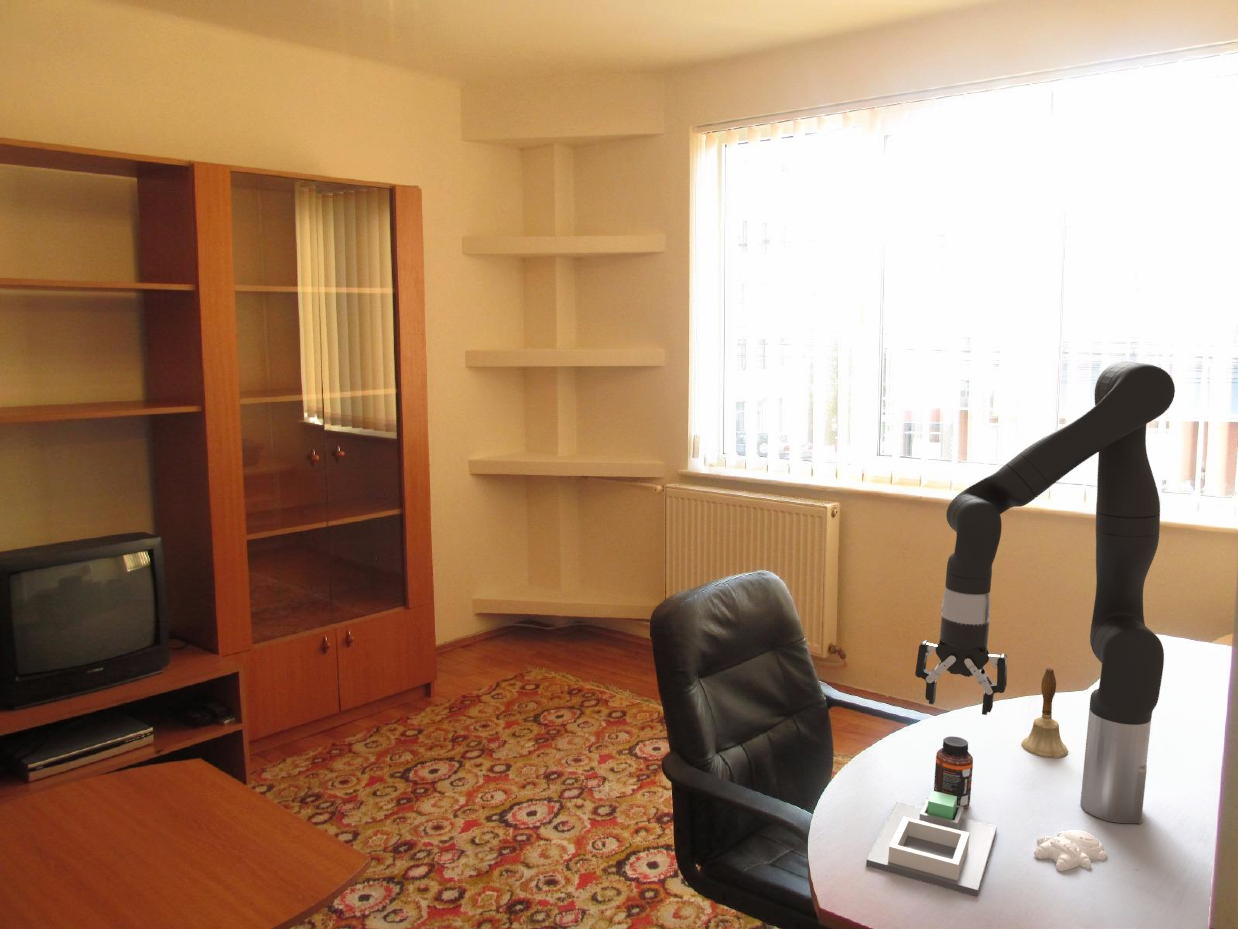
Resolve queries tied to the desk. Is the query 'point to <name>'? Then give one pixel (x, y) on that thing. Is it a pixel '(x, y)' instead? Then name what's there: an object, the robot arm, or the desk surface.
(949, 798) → the button
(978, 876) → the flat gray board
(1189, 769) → the desk surface
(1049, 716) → the hand bell
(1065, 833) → the astronaut figurine
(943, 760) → the supplement bottle
